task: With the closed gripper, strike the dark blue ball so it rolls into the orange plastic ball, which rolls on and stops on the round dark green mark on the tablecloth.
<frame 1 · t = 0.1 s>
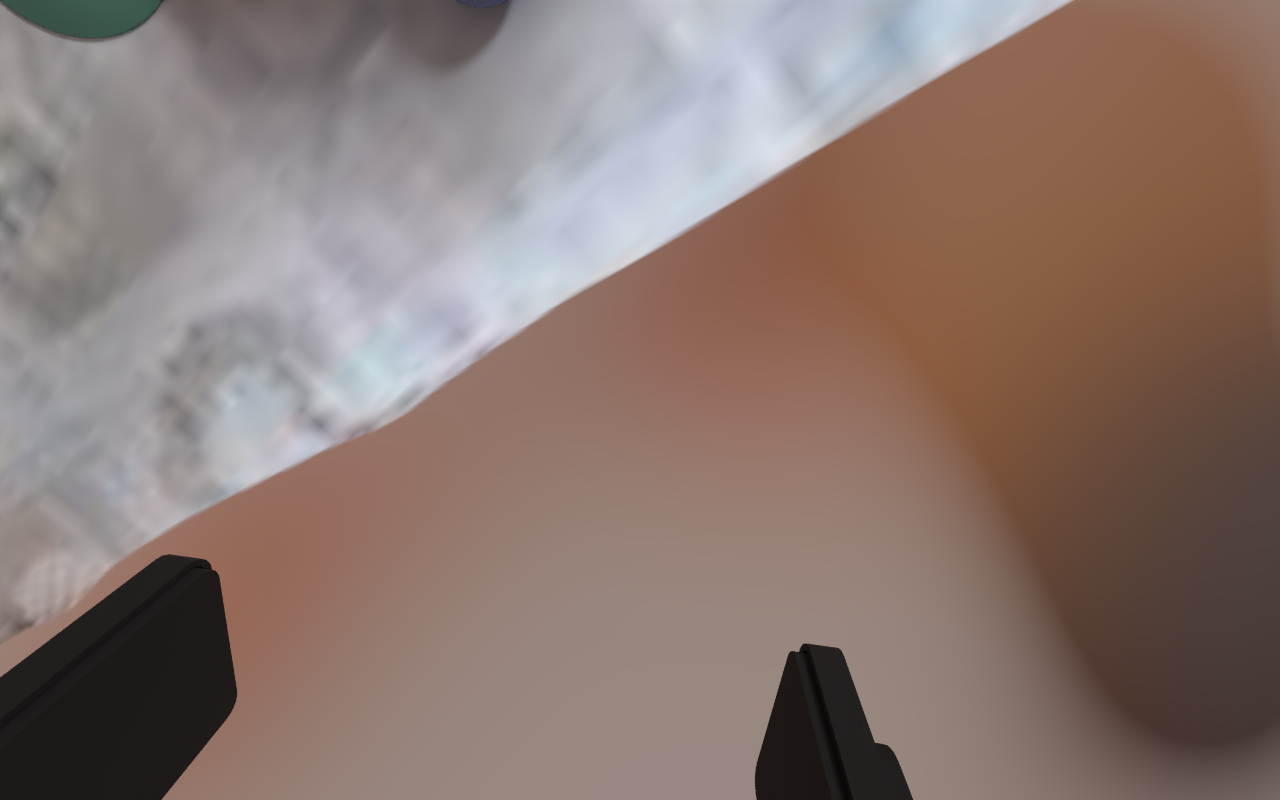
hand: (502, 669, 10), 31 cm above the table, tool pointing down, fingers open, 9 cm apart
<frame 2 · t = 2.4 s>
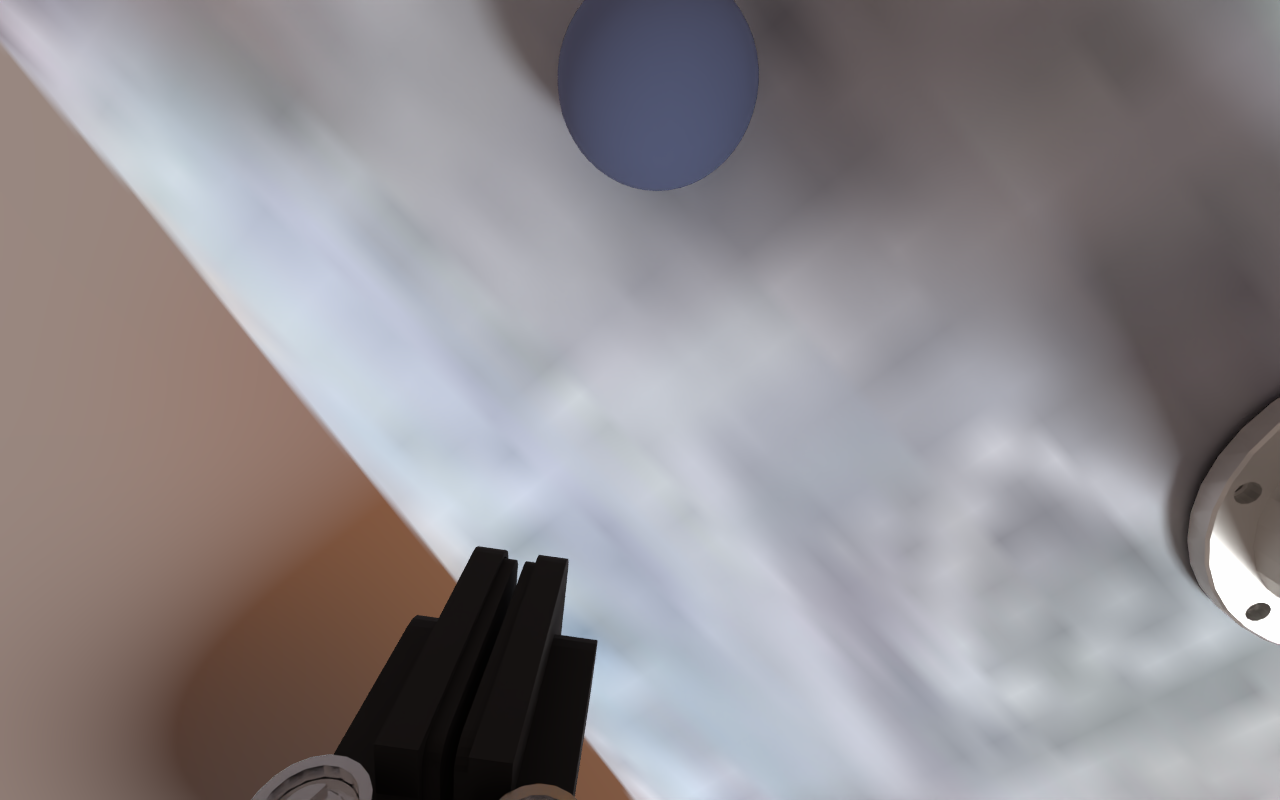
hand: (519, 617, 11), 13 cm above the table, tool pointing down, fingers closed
dark blue ball: (657, 85, 17), on the table
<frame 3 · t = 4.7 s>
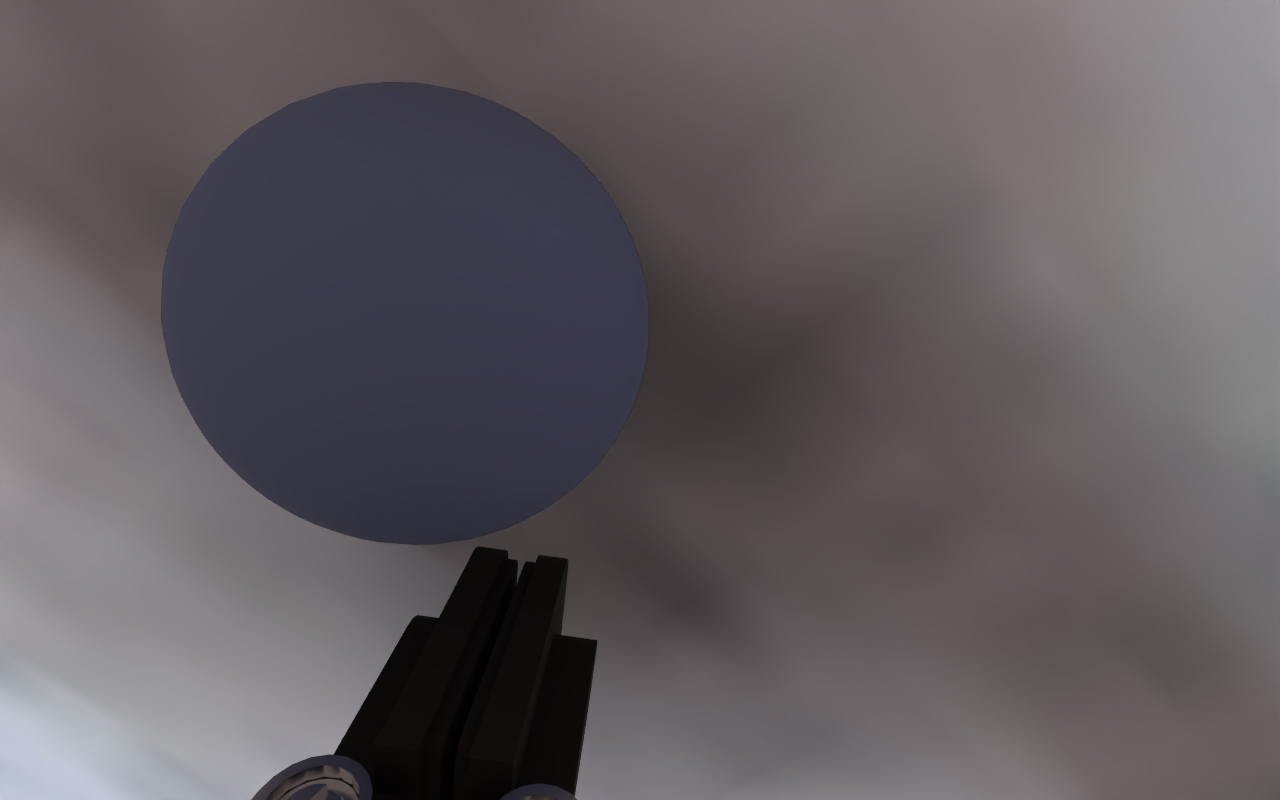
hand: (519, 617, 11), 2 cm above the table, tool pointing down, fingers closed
dark blue ball: (435, 324, 8), on the table
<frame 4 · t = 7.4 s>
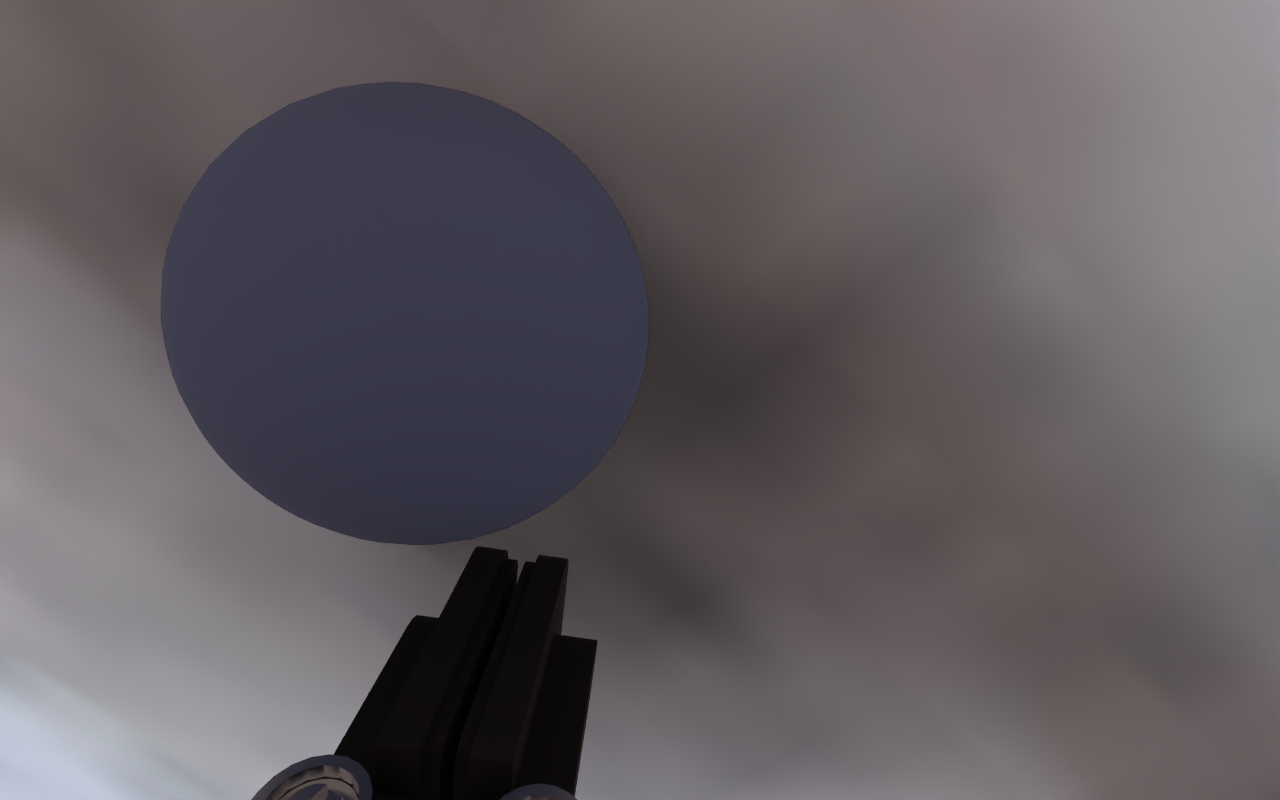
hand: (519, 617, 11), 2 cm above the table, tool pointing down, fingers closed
dark blue ball: (435, 324, 8), on the table
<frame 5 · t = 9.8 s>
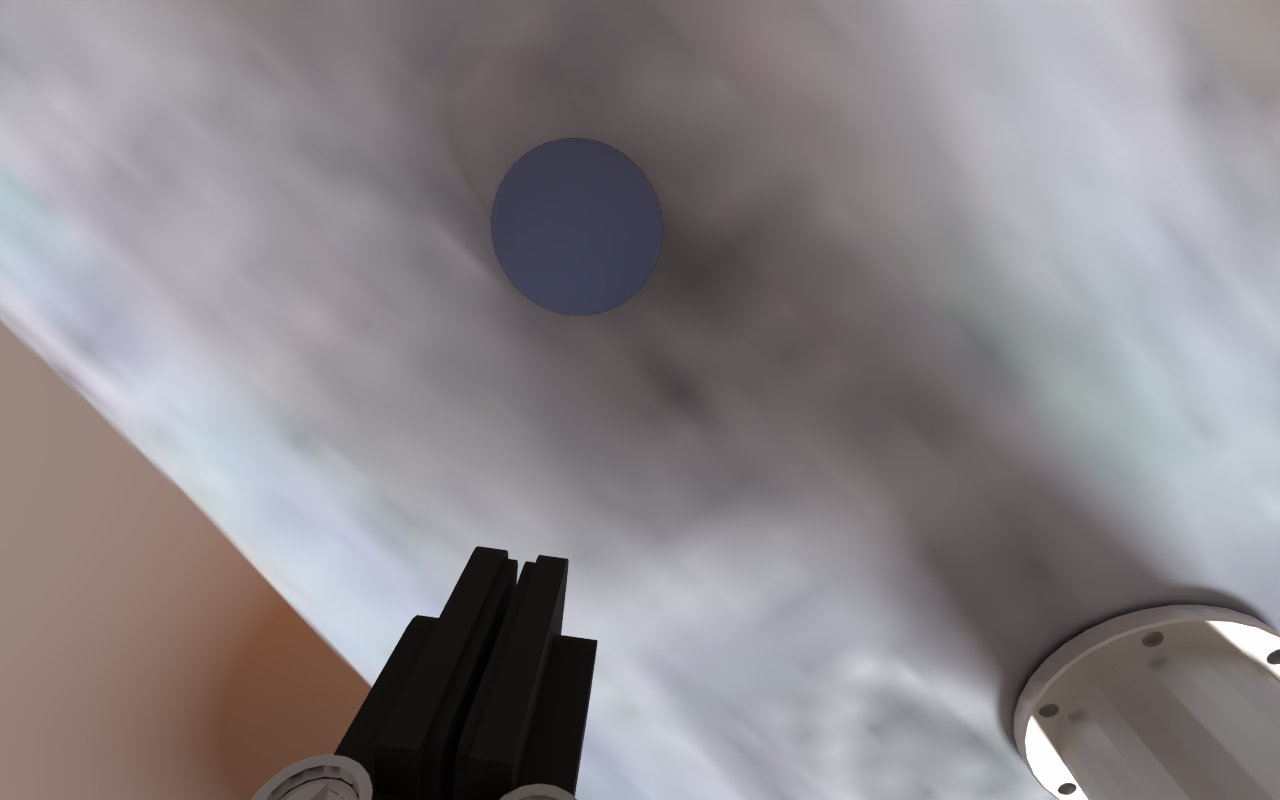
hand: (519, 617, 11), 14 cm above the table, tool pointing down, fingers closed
dark blue ball: (578, 230, 19), on the table
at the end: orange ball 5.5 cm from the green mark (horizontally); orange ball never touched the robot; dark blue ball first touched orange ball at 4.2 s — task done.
